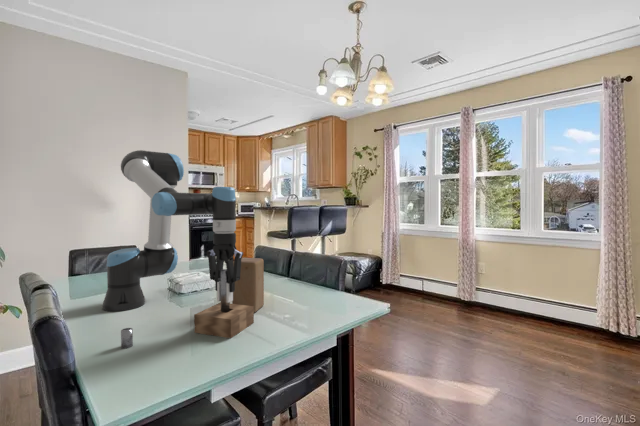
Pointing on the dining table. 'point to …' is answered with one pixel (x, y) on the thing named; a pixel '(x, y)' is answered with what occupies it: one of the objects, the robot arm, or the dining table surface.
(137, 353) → the dining table surface
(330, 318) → the dining table surface
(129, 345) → the short pin
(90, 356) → the dining table surface
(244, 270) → the wooden block
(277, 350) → the dining table surface
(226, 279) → the long pin
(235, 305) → the socket block
